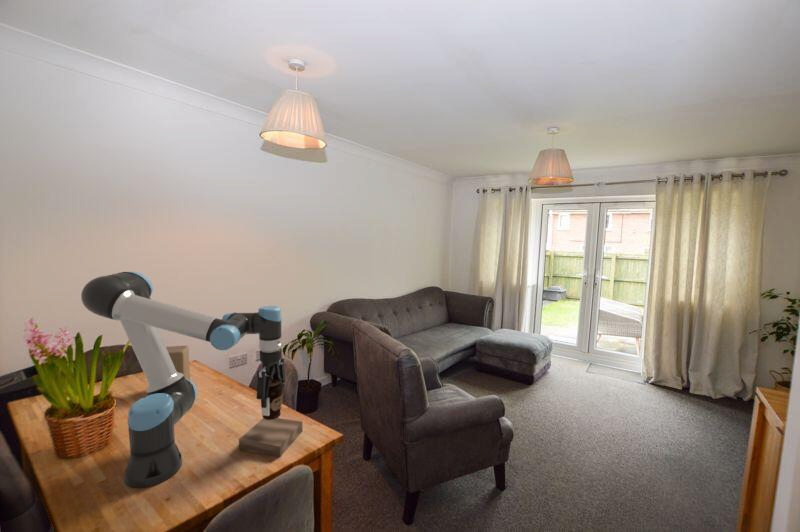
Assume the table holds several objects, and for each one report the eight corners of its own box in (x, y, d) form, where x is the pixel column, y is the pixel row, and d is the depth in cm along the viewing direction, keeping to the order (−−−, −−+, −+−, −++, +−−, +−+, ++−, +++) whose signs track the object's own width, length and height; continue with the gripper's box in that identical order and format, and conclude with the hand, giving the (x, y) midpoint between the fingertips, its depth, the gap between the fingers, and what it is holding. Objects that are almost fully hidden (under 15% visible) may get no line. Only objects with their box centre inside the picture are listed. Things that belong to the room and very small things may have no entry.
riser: (280, 457, 122) (280, 446, 121) (239, 449, 125) (238, 439, 125) (302, 431, 137) (302, 421, 137) (265, 425, 141) (265, 416, 140)
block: (167, 385, 173) (165, 346, 171) (190, 383, 176) (188, 344, 174) (160, 395, 163) (158, 353, 161) (184, 392, 166) (183, 351, 164)
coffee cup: (288, 411, 134) (287, 378, 132) (278, 422, 126) (278, 387, 124) (266, 409, 135) (265, 376, 133) (255, 421, 126) (254, 386, 125)
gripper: (263, 360, 117) (265, 425, 119) (294, 341, 136) (295, 397, 139) (243, 358, 118) (245, 422, 121) (276, 339, 138) (278, 395, 141)
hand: (272, 409), depth 130 cm, fingers closed on coffee cup, 7 cm apart
